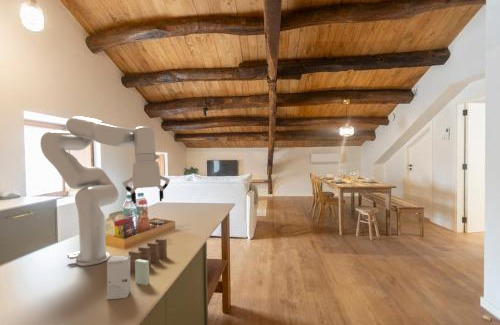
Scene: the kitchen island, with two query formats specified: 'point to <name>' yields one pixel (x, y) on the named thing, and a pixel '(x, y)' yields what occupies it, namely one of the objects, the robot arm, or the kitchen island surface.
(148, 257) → the tile
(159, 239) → the tile
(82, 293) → the kitchen island surface
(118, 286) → the skincare box
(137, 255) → the tile
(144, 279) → the sage tile
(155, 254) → the tile
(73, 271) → the kitchen island surface
